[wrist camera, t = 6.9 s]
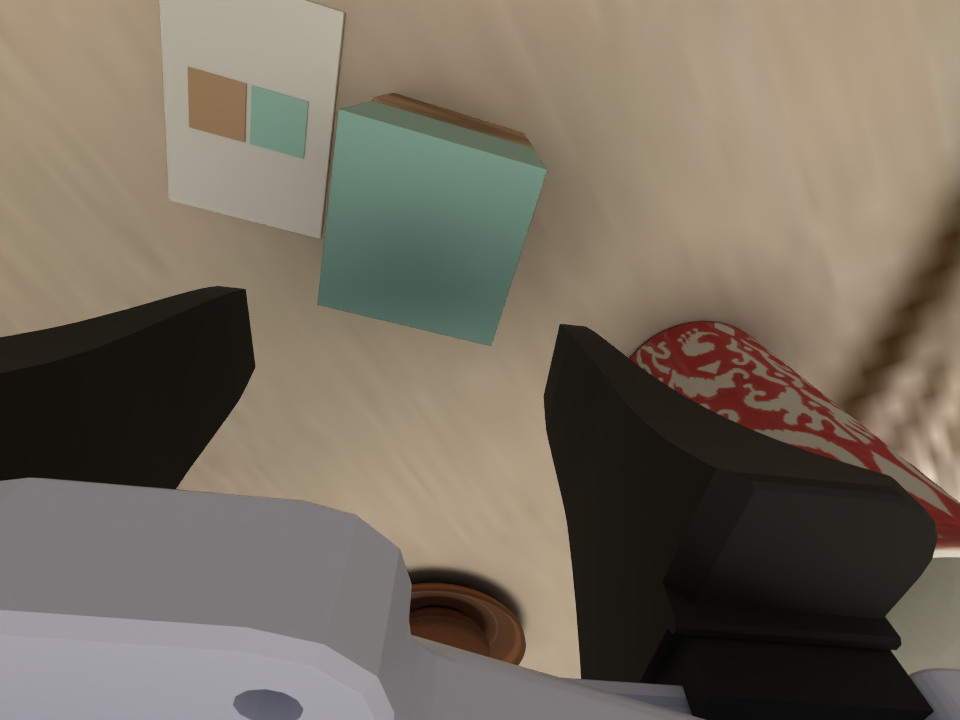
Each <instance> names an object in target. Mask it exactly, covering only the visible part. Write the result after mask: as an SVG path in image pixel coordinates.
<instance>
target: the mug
mask: <svg viewBox="0 0 960 720" xmlns="http://www.w3.org/2000/svg"><path fill="white" fill-rule="evenodd" d="M630 360H632V361H633V362H634V363H636V364H637V365H638V366H640V367H641V368H642V369H644V370H645V371H647V372H648V373H649V374H651V375H652V376H654V377H655V378H657V379H658V380H660V381H661V382H663V383H664V384H666V385H667V386H669V387H670V388H672V389H674V390H675V391H677V392H679V393H680V394H682V395H684V396H685V397H687V398H689V399H691V400H693V401H694V402H696V403H698V404H700V405H702V406H703V407H705V408H707V409H709V410H711V411H713V412H715V413H717V414H719V415H721V416H723V417H725V418H727V419H730V420H732V421H734V422H736V423H739V424H741V425H743V426H745V427H747V428H750V429H752V430H754V431H757V432H759V433H762V434H764V435H767V436H769V437H771V438H774V439H776V440H779V441H782V442H785V443H787V444H790V445H793V446H796V447H799V448H801V449H804V450H807V451H810V452H812V453H815V454H818V455H821V456H825V457H828V458H832V459H835V460H838V461H842V462H845V463H849V464H852V465H855V466H859V467H862V468H865V469H869V470H872V471H876V472H879V473H882V474H886V475H889V476H891V477H892V478H894V479H895V480H896V481H897V482H898V483H899V484H900V485H901V486H902V487H903V488H904V489H905V490H906V491H907V492H908V493H909V494H910V495H911V496H912V497H913V498H914V499H915V500H916V501H917V502H918V503H919V504H920V505H922V506H923V507H924V509H925V510H926V511H927V512H928V514H929V515H930V516H931V517H932V519H933V520H934V521H935V524H936V530H937V535H938V540H937V543H936V547H935V551H934V554H933V558H932V560H931V562H930V563H929V565H928V566H927V568H926V569H925V571H924V572H923V574H922V575H921V576H920V578H919V579H918V580H917V581H916V582H915V583H914V584H913V586H912V587H911V588H910V589H909V590H908V591H907V592H906V593H905V595H904V596H903V597H902V598H901V599H900V600H899V601H898V602H897V604H896V605H895V606H894V607H893V608H892V609H891V610H890V611H889V613H888V614H887V615H886V616H885V617H886V618H887V620H888V621H889V622H890V624H891V625H892V626H893V628H894V629H895V630H896V632H897V633H898V635H899V636H900V637H901V644H902V645H901V646H900V647H899V648H898V649H897V650H891V651H892V653H893V654H894V656H895V657H896V658H897V660H898V661H899V663H900V664H901V665H902V667H903V668H904V670H905V671H906V672H907V674H908V675H910V674H911V673H914V672H917V671H920V670H924V669H932V668H945V669H959V670H960V503H959V502H958V501H957V500H955V499H954V498H953V497H951V496H950V495H949V494H948V493H947V492H945V491H944V490H943V489H942V488H941V487H940V486H938V485H937V484H936V483H934V482H933V481H932V480H930V479H929V478H928V477H926V476H925V475H924V474H923V473H922V472H920V471H919V470H918V469H917V468H916V467H914V466H913V465H912V464H910V463H909V462H908V461H906V460H905V459H904V458H902V457H901V456H900V455H899V454H897V453H896V452H895V451H894V450H892V449H891V448H890V447H889V446H887V445H886V444H885V443H884V442H882V441H881V440H880V439H879V438H878V437H876V436H875V435H874V434H872V433H871V432H870V431H868V430H867V429H866V428H865V427H864V426H863V425H861V424H860V423H859V422H857V421H856V420H855V419H853V418H852V417H851V416H850V415H848V414H847V413H846V412H845V411H844V410H842V409H841V408H840V407H839V406H838V405H837V404H835V403H834V402H833V401H831V400H830V399H829V398H827V397H826V396H825V395H823V394H822V393H821V392H820V391H818V390H817V389H816V388H815V387H814V386H812V385H811V384H810V383H809V382H807V381H806V380H805V379H803V378H802V377H801V376H800V375H798V374H797V373H796V372H795V371H794V370H792V369H791V368H790V367H788V366H787V365H786V364H784V363H783V362H782V361H780V360H779V359H778V358H777V357H775V356H774V355H773V354H772V353H771V352H770V351H768V350H767V349H766V348H765V347H763V346H762V345H761V344H760V343H759V342H757V341H756V340H755V339H754V338H752V337H751V336H749V335H748V334H746V333H745V332H743V331H741V330H739V329H737V328H735V327H733V326H730V325H727V324H722V323H718V322H694V323H688V324H683V325H679V326H676V327H673V328H671V329H669V330H667V331H664V332H662V333H660V334H658V335H657V336H655V337H653V338H651V339H650V340H649V341H648V342H646V343H645V344H644V345H643V346H642V347H640V348H639V349H638V350H637V351H636V352H635V353H634V354H633V356H632V357H631V358H630Z"/></svg>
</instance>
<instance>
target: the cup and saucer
mask: <svg viewBox="0 0 960 720" xmlns="http://www.w3.org/2000/svg"><path fill="white" fill-rule="evenodd" d="M409 624H410V631H411V635H413V636H417V637H420V638H424V639H427V640H431V641H434V642H438V643H441V644H445V645H448V646H452V647H455V648H459V649H462V650H466V651H469V652H472V653H476V654H479V655H483V656H486V657H490V658H493V659H497V660H500V661H504V662H507V663H511V664H514V665H519V664H520V662H521V660H522V659H523V656H524V653H525V648H526V642H525V636H524V633H523V630H522V627H521V625H520V623H519V621H518V620H517V618H516V617H515V616H514V614H513V613H512V612H511V611H510V610H509V609H508V608H506V607H505V606H504V605H502V604H501V603H500V602H498V601H497V600H495V599H494V598H492V597H490V596H488V595H486V594H484V593H482V592H480V591H477V590H474V589H471V588H468V587H464V586H460V585H454V584H447V583H419V584H412V588H411V601H410V613H409Z"/></svg>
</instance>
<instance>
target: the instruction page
mask: <svg viewBox="0 0 960 720" xmlns="http://www.w3.org/2000/svg"><path fill="white" fill-rule="evenodd" d="M159 2H160V23H161V44H162V64H163V85H164V105H165V126H166V147H167V167H168V188H169V200H170V201H174V202H178V203H182V204H186V205H189V206H193V207H197V208H201V209H205V210H209V211H213V212H217V213H221V214H225V215H228V216H232V217H236V218H240V219H244V220H248V221H252V222H256V223H260V224H264V225H268V226H271V227H275V228H279V229H283V230H287V231H291V232H295V233H299V234H303V235H307V236H310V237H314V238H318V239H320V238H321V235H322V226H323V216H324V207H325V198H326V188H327V179H328V170H329V161H330V151H331V142H332V133H333V123H334V114H335V105H336V95H337V86H338V77H339V67H340V58H341V49H342V39H343V30H344V21H345V13H344V12H341V11H337V10H334V9H331V8H328V7H325V6H322V5H319V4H315V3H312V2H309V1H306V0H159Z"/></svg>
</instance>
